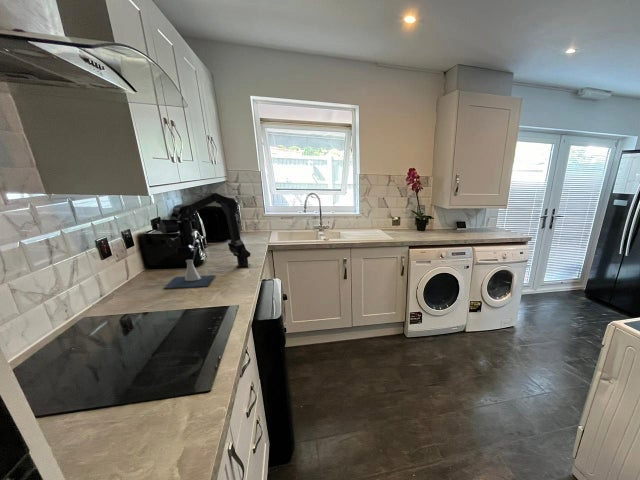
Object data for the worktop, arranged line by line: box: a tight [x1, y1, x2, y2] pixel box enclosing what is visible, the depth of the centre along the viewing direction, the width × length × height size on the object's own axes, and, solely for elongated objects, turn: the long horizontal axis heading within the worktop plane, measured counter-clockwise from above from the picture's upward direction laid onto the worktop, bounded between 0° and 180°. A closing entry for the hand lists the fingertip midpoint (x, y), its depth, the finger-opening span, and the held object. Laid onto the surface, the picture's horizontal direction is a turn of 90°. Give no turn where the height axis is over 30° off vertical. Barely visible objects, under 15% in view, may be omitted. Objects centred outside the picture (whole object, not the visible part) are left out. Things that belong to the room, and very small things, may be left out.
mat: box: [164, 274, 216, 290], centre depth 163 cm, size 18×18×1 cm
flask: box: [184, 259, 201, 281], centre depth 164 cm, size 7×7×10 cm
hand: (191, 262), depth 166 cm, fingers closed
